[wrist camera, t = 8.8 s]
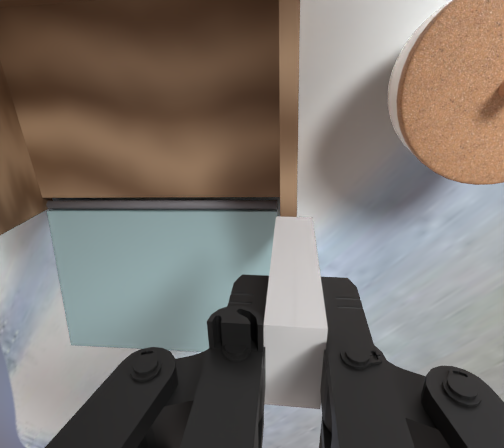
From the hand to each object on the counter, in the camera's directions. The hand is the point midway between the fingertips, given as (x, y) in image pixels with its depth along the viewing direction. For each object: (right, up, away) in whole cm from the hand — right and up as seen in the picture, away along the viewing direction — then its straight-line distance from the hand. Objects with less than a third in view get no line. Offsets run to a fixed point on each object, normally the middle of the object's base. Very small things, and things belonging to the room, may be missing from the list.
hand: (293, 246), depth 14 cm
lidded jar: (+13, +11, +11) cm, 20 cm away
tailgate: (-10, +3, +16) cm, 19 cm away
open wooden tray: (-10, +10, +14) cm, 20 cm away
